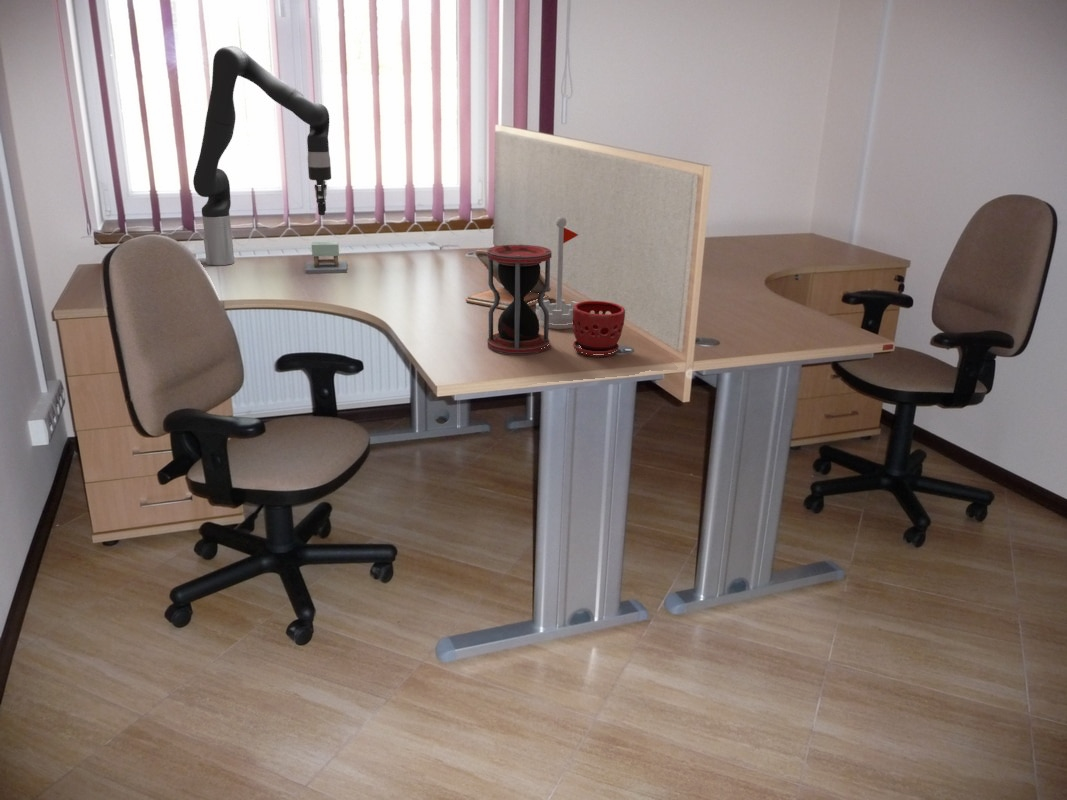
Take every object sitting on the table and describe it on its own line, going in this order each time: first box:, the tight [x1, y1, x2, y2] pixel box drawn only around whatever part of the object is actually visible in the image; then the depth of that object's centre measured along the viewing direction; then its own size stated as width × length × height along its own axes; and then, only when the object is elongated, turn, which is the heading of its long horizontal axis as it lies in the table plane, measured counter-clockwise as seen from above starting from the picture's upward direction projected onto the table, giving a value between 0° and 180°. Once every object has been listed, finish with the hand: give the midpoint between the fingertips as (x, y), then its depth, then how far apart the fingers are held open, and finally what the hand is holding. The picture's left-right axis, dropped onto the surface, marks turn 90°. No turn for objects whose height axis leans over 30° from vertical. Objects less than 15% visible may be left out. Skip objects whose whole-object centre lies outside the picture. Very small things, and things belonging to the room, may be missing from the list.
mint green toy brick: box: [311, 240, 340, 267], centre depth 304 cm, size 6×9×8 cm, turn 100°
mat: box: [304, 260, 348, 275], centre depth 306 cm, size 14×14×1 cm
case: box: [465, 249, 552, 311], centre depth 265 cm, size 20×21×16 cm
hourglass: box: [486, 243, 553, 356], centre depth 218 cm, size 16×16×25 cm
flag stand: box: [535, 216, 579, 330], centre depth 238 cm, size 13×13×30 cm
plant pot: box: [572, 300, 626, 358], centre depth 217 cm, size 13×13×12 cm
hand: (322, 213), depth 300 cm, fingers open, 8 cm apart
